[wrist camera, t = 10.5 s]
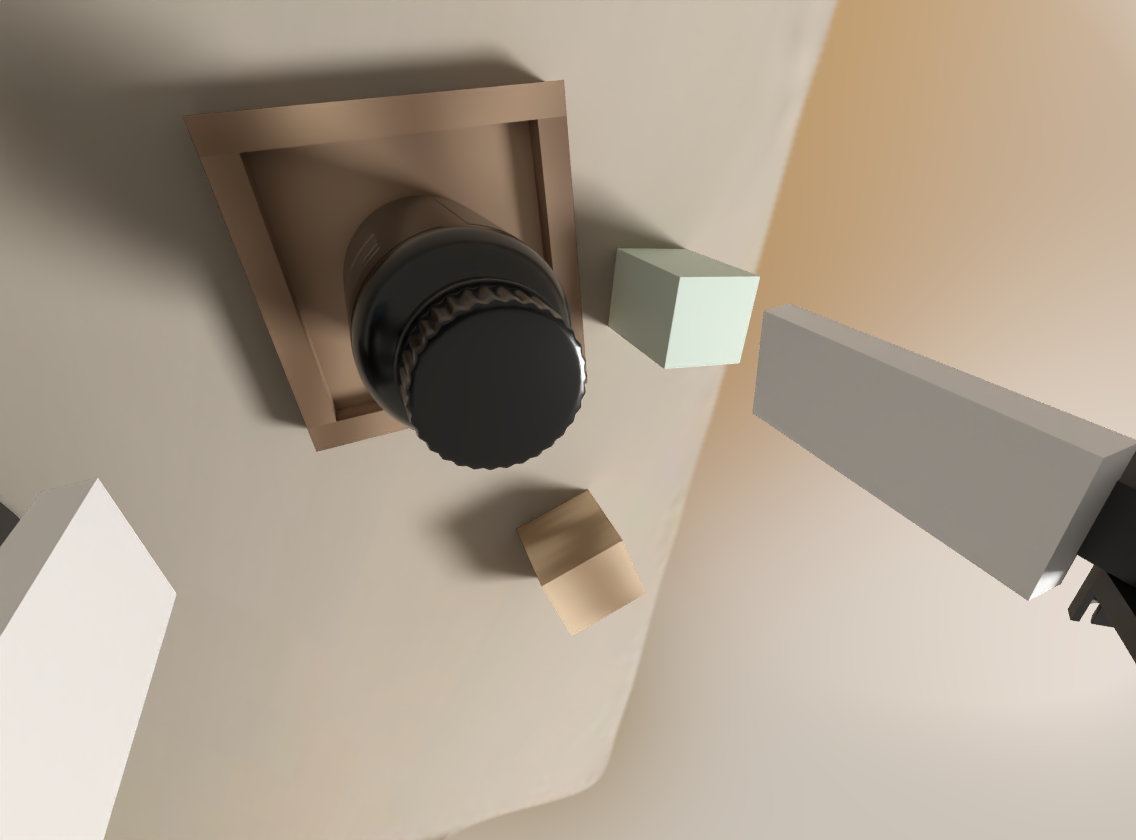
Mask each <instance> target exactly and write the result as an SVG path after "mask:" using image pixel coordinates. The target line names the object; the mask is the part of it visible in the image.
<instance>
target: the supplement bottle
mask: <svg viewBox="0 0 1136 840" xmlns="http://www.w3.org/2000/svg"><path fill="white" fill-rule="evenodd" d="M343 283H344V294H345V302H346V309H347V317H348V325H349V333H350V340H351V347H352V353H353V357H354V361H355V364H356V367H357V370H358V373H359V375H360V378H361V380H362V382H363V384H364V386H365V387H366V389H367V391H368V392H369V394H370V395H371V397H372V398H373V399H374V400H375V401H376V403H377V404H378V405H379V406H380V407H381V408H382V409H383V410H384V411H385V412H386V413H387V414H389V415H390V416H391V417H392V418H394V419H395V420H397V421H398V422H400V423H401V424H403V425H405V426H407V427H408V428H410V429H412V430H415V431H416V434H417V436H418V437H419V438H420V439H421V440H423V441H425V442H426V444H427V446H428V448H429V450H431V451H434V452H436V453H439V455H440V456H441V457H442V459H444V460H449V461H453V462H454V463H455V464H456V465H458V466H468V467H470V468H472V469H480V468H485V469H488V470H492V469H495V468H498V467H502V468H508V467H510V466H512V465H514V464H521V463H524V462H526V461H527V460H528V459H529V458H533V457H536V456H538V455H540V454H541V452H542V451H543V450H545V449H547V448H549V447H551V446H552V445H553V444H554V442H555V440H556V439H558V438H560V437H561V436H562V435H564V433H565V430H566V428H567V427H568V426H569V425H570V424H571V423H572V422H573V421H574V417H575V414H576V413H577V412H578V410H579V409H580V408H581V399H582V398H583V396H584V394H585V385H584V384H585V382H586V379H587V374H586V372H585V365H586V359H585V358H584V356H583V355H582V345H581V343H580V342H579V341H578V340H577V339H576V338H575V334H574V331H573V329H572V321H571V313H570V308H569V304H568V300H567V297H566V294H565V292H564V289H563V287H562V285H561V283H560V281H559V279H558V278H557V276H556V274H555V273H554V271H553V270H552V269H551V267H550V266H549V265H548V263H547V262H546V261H545V260H544V259H543V258H542V257H541V256H540V255H539V254H538V253H536V252H535V251H534V250H533V249H532V248H531V247H529V246H528V245H527V244H525V243H524V242H522V241H521V240H520V239H518V238H517V237H515V236H513V235H512V234H510V233H508V232H507V231H505V230H504V229H502V228H500V227H499V226H497V225H495V224H494V223H492V222H491V221H489V220H487V219H486V218H484V217H483V216H481V215H479V214H478V213H476V212H474V211H473V210H471V209H469V208H467V207H466V206H464V205H462V204H460V203H457V202H455V201H453V200H449V199H446V198H442V197H438V196H430V195H414V196H407V197H402V198H399V199H396V200H393V201H391V202H388V203H386V204H384V205H382V206H381V207H379V208H378V209H376V210H375V211H373V212H372V213H371V214H370V215H369V216H368V217H367V218H365V220H364V221H363V222H362V223H361V224H360V225H359V227H358V228H357V230H356V231H355V233H354V234H353V236H352V238H351V240H350V243H349V245H348V248H347V251H346V255H345V259H344V266H343Z"/></svg>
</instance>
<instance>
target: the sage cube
mask: <svg viewBox="0 0 1136 840" xmlns="http://www.w3.org/2000/svg"><path fill="white" fill-rule="evenodd" d="M759 279H760V276H758V275H755V274H752V273H750V272H747V271H744V270H741V269H739V268H736V267H733V266H731V265H728V264H725V263H723V262H720V261H717V260H714V259H712V258H709V257H706V256H704V255H701V254H698V253H696V252H693V251H690V250H687V249H641V248H617V253H616V261H615V270H614V279H613V288H612V296H611V305H610V314H609V323H608V326H609V327H610V328H611V329H613V330H614V331H615V332H616V333H618V334H619V335H620V336H622V337H623V338H624V339H626V340H627V341H628V342H630V343H631V344H632V345H634V346H635V347H636V348H638V349H639V350H640V351H641V352H643V353H644V354H645V355H647V356H648V357H649V358H651V359H652V360H653V361H655V362H656V363H657V364H659V365H660V366H661V367H663V368H664V369H670V368H683V367H696V366H709V365H722V364H735V363H739V362H740V358H741V354H742V350H743V346H744V342H745V338H746V333H747V329H748V325H749V321H750V316H751V312H752V308H753V304H754V300H755V296H756V292H757V287H758V283H759Z"/></svg>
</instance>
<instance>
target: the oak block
mask: <svg viewBox="0 0 1136 840" xmlns="http://www.w3.org/2000/svg"><path fill="white" fill-rule="evenodd" d="M516 530H517V532H518V534H519V536H520V539H521V541H522V543H523V546H524V548H525V550H526V552H527V555H528V557H529V559H530V561H531V564H532V566H533V568H534V570H535V573H536V575H537V577H538V580H539V582H540V584H541V586H542V588H543V590H544V591H545V593H546V595H547V596H548V598H549V600H550V601H551V603H552V605H553V606H554V608H555V610H556V611H557V613H558V615H559V616H560V618H561V620H562V621H563V623H564V625H565V626H566V628H567V630H568V631H569V633H570V635H571V636H573V635H575V634H577V633H578V632H580V631H582V630H584V629H585V628H587V627H589V626H590V625H592V624H594V623H596V622H597V621H599V620H601V619H602V618H604V617H606V616H607V615H609V614H611V613H613V612H614V611H616V610H618V609H619V608H621V607H623V606H625V605H626V604H628V603H630V602H631V601H633V600H635V599H637V598H638V597H640V596H642V595H643V594H645V592H644V590H643V587H642V585H641V583H640V580H639V578H638V575H637V573H636V571H635V568H634V566H633V564H632V561H631V559H630V556H629V554H628V552H627V549H626V547H625V545H624V542H623V540H622V539H621V537H620V536H619V534H618V533H617V531H616V530H615V528H614V527H613V525H612V524H611V523H610V521H609V520H608V518H607V517H606V515H605V514H604V512H603V511H602V509H601V508H600V506H599V505H598V503H597V502H596V501H595V499H594V498H593V496H592V495H591V493H590V492H589V490H587V491H585V492H583V493H581V494H579V495H578V496H576V497H574V498H572V499H570V500H568V501H567V502H565V503H563V504H561V505H559V506H557V507H556V508H554V509H552V510H550V511H548V512H547V513H545V514H543V515H541V516H539V517H537V518H536V519H534V520H532V521H530V522H528V523H527V524H525V525H523V526H521V527H519V528H517V529H516Z"/></svg>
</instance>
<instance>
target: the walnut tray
mask: <svg viewBox="0 0 1136 840" xmlns="http://www.w3.org/2000/svg"><path fill="white" fill-rule="evenodd" d="M183 118H184V120H185V123H186V125H187V128H188V130H189V133H190V135H191V138H192V140H193V143H194V145H195V148H196V150H197V153H198V155H199V158H200V160H201V163H202V165H203V168H204V171H205V173H206V176H207V178H208V181H209V183H210V186H211V188H212V191H213V193H214V196H215V198H216V201H217V203H218V206H219V208H220V211H221V213H222V216H223V218H224V221H225V223H226V226H227V228H228V231H229V233H230V236H231V238H232V241H233V243H234V246H235V248H236V251H237V253H238V256H239V258H240V261H241V263H242V266H243V268H244V271H245V273H246V276H247V278H248V281H249V283H250V286H251V288H252V291H253V293H254V296H255V299H256V301H257V304H258V306H259V309H260V311H261V314H262V316H263V319H264V321H265V324H266V326H267V329H268V331H269V334H270V336H271V339H272V341H273V344H274V346H275V349H276V351H277V354H278V356H279V359H280V361H281V364H282V366H283V369H284V371H285V374H286V376H287V379H288V381H289V384H290V386H291V389H292V391H293V394H294V396H295V399H296V401H297V404H298V406H299V409H300V411H301V414H302V416H303V419H304V422H305V424H306V427H307V429H308V432H309V434H310V437H311V439H312V442H313V444H314V447H315V449H316V452H317V451H321V450H325V449H329V448H333V447H337V446H341V445H345V444H349V443H353V442H357V441H360V440H364V439H368V438H372V437H376V436H380V435H384V434H388V433H392V432H396V431H400V430H404V429H408V427H407V426H405V425H403V424H401V423H400V422H398V421H397V420H395V419H394V418H392V417H391V416H390V415H389V414H387V413H386V412H385V411H384V410H383V409H382V408H381V407H380V406H379V405H378V404H377V403H376V401H375V400H374V399H373V398H372V397H371V395H370V394H369V392H368V391H367V389H366V387H365V386H364V384H363V382H362V380H361V378H360V375H359V373H358V370H357V367H356V364H355V361H354V357H353V353H352V347H351V340H350V333H349V325H348V317H347V309H346V302H345V294H344V283H343V266H344V259H345V255H346V251H347V248H348V245H349V243H350V240H351V238H352V236H353V234H354V233H355V231H356V230H357V228H358V227H359V225H360V224H361V223H362V222H363V221H364V220H365V218H367V217H368V216H369V215H370V214H371V213H372V212H373V211H375V210H376V209H378V208H379V207H381V206H382V205H384V204H386V203H388V202H391V201H393V200H396V199H399V198H402V197H407V196H414V195H430V196H438V197H442V198H446V199H449V200H453V201H455V202H457V203H460V204H462V205H464V206H466V207H467V208H469V209H471V210H473V211H474V212H476V213H478V214H479V215H481V216H483V217H484V218H486V219H487V220H489V221H491V222H492V223H494V224H495V225H497V226H499V227H500V228H502V229H504V230H505V231H507V232H508V233H510V234H512V235H513V236H515V237H517V238H518V239H520V240H521V241H522V242H524V243H525V244H527V245H528V246H529V247H531V248H532V249H533V250H534V251H535V252H536V253H538V254H539V255H540V256H541V257H542V258H543V259H544V260H545V261H546V262H547V263H548V265H549V266H550V267H551V269H552V270H553V271H554V273H555V274H556V276H557V278H558V279H559V281H560V283H561V285H562V287H563V289H564V292H565V294H566V297H567V300H568V304H569V308H570V313H571V321H572V329H573V331H574V334H575V338H576V339H577V340H578V341H579V342H580V343H581V345H582V355H583V356H584V358H585V347H584V334H583V321H582V308H581V295H580V282H579V269H578V256H577V243H576V230H575V218H574V205H573V192H572V179H571V166H570V153H569V140H568V127H567V114H566V101H565V89H564V80H558V81H548V82H537V83H527V84H516V85H505V86H495V87H484V88H473V89H463V90H452V91H441V92H431V93H420V94H409V95H399V96H388V97H378V98H367V99H356V100H346V101H335V102H324V103H314V104H303V105H292V106H282V107H271V108H261V109H250V110H239V111H229V112H218V113H207V114H197V115H186V116H183ZM585 372H586V365H585ZM586 374H587V372H586ZM585 383H587V379H586V382H585Z"/></svg>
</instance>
